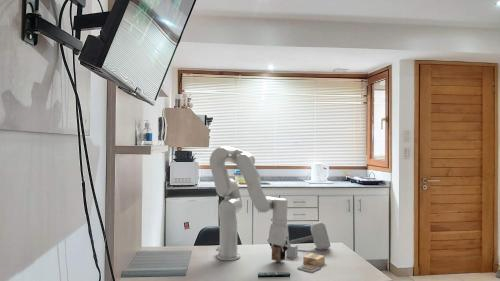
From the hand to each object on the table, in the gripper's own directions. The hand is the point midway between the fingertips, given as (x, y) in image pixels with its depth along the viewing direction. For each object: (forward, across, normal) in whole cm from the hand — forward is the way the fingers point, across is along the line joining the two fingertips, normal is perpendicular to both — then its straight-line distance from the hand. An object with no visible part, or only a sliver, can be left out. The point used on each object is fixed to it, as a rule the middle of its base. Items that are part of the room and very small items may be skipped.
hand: (278, 257), depth 187 cm
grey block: (+3, -1, +14) cm, 14 cm away
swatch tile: (+2, +18, +2) cm, 18 cm away
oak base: (+2, +15, +10) cm, 18 cm away
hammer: (+3, -5, +30) cm, 31 cm away
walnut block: (+1, 0, 0) cm, 1 cm away
